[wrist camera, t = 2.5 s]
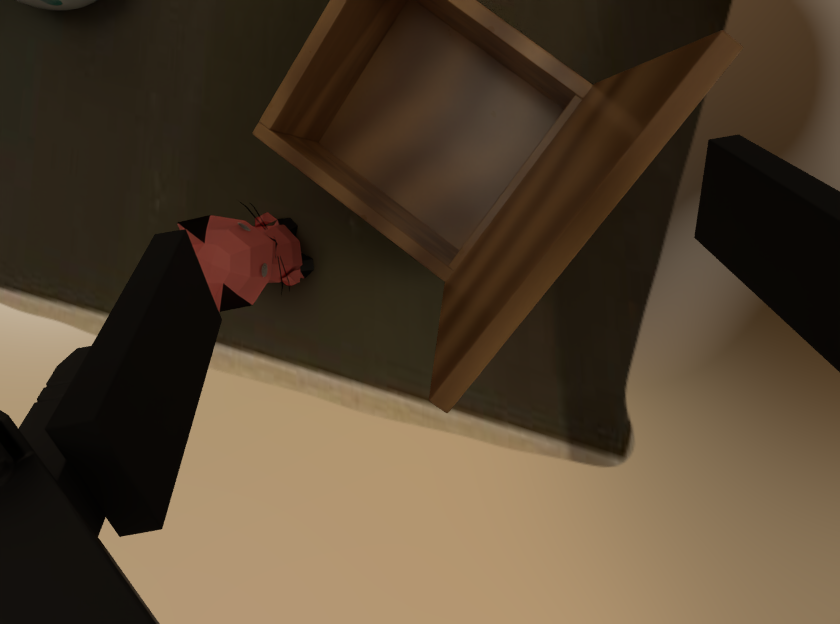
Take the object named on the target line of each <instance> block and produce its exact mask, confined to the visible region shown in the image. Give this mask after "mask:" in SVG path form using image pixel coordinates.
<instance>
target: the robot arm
mask: <svg viewBox="0 0 840 624" xmlns="http://www.w3.org/2000/svg"><path fill="white" fill-rule="evenodd" d="M695 239H697V240H698V241H699V242H700V243H701V244H702V245H703V246H704V247H705V248H706V249H707V250H708V251H709V252H711V253H712V254H713V255H714V256H715V257H716V258H717V259H718V260H719V261H720V262H721V263H722V264H723V265H725V266H726V267H727V268H728V269H729V270H730V271H731V272H732V273H733V274H734V275H735V276H736V277H738V278H739V279H740V280H741V281H742V282H743V283H744V284H745V285H746V286H747V287H748V288H749V289H750V290H752V291H753V292H754V293H755V294H756V295H757V296H758V297H759V298H760V299H761V300H762V301H763V302H764V303H766V304H767V305H768V306H769V307H770V308H771V309H772V310H773V311H774V312H775V313H776V314H777V315H779V316H780V317H781V318H782V319H783V320H784V321H785V322H786V323H787V324H788V325H789V326H790V327H792V328H793V329H794V330H795V331H796V332H797V333H798V334H799V335H800V336H801V337H802V338H803V339H804V340H806V341H807V342H808V343H809V344H810V345H811V346H812V347H813V348H814V349H815V350H816V351H817V352H818V353H820V354H821V355H822V356H823V357H824V358H825V359H826V360H827V361H828V362H829V363H830V364H831V365H833V366H834V367H835V368H836V369H837V370H838V371H839V372H840V192H839V191H838V190H836V189H834V188H832V187H831V186H829V185H827V184H825V183H824V182H822V181H820V180H818V179H816V178H815V177H813V176H811V175H809V174H808V173H806V172H804V171H802V170H801V169H799V168H797V167H795V166H793V165H792V164H790V163H788V162H786V161H785V160H783V159H781V158H779V157H778V156H776V155H774V154H772V153H770V152H769V151H767V150H765V149H763V148H762V147H760V146H758V145H756V144H755V143H753V142H751V141H749V140H747V139H746V138H744V137H742V136H740V135H733V136H728V137H722V138H716V139H710V140H709V141H708V148H707V155H706V162H705V168H704V175H703V182H702V189H701V196H700V203H699V210H698V216H697V224H696V230H695ZM221 321H222V319H221V316H220V314H219V311H218V309H217V306H216V304H215V301H214V299H213V296H212V294H211V291H210V288H209V286H208V283H207V281H206V278H205V276H204V273H203V271H202V268H201V266H200V263H199V261H198V258H197V256H196V253H195V251H194V248H193V246H192V243H191V241H190V238H189V236H188V233H187V231H186V229H184V230H178V231H172V232H166V233H160V234H155V235H154V237H153V239H152V240H151V242H150V244H149V246H148V247H147V249H146V251H145V253H144V254H143V256H142V258H141V260H140V262H139V263H138V265H137V267H136V269H135V270H134V272H133V274H132V276H131V277H130V279H129V281H128V283H127V284H126V286H125V288H124V290H123V292H122V293H121V295H120V297H119V299H118V300H117V302H116V304H115V306H114V307H113V309H112V311H111V313H110V314H109V316H108V318H107V320H106V321H105V323H104V325H103V327H102V329H101V330H100V332H99V334H98V336H97V337H96V339H95V341H94V343H93V344H92V346H88V347H82V348H77V349H76V350H75V351H74V352H73V353H71V354H70V355H69V356H68V357H67V358H66V359H65V360H63V361H62V362H61V363H60V364H59V365H58V366H57V367H56V369H55V371H54V372H53V374H52V376H51V377H50V379H49V380H48V382H47V383H46V385H47V387H46V388H43V390H42V392H41V393H40V395H39V396H38V398H37V402H36V403H34V404H33V406H32V408H31V409H30V411H29V413H28V414H27V416H26V417H25V419H24V421H23V422H22V424H21V426H20V427H19V429H18V428H17V426H16V425H15V424H14V422H13V421H12V420H11V418H10V417H9V415H7V414H6V413H4V412H2V411H1V410H0V624H159V622H158V621H157V620H156V618H155V617H154V615H153V614H152V613H151V611H150V610H149V608H148V607H147V606H146V604H145V603H144V601H143V600H142V599H141V597H140V596H139V594H138V593H137V591H136V590H135V589H134V587H133V586H132V584H131V583H130V582H129V580H128V579H127V577H126V576H125V574H124V573H123V572H122V570H121V569H120V567H119V566H118V565H117V563H116V562H115V560H114V559H113V558H112V556H111V555H110V553H109V552H108V551H107V549H106V548H105V546H104V545H103V544H102V542H101V541H100V539H99V538H98V535H99V532H100V530H101V528H102V525H103V522H104V520H105V517H106V518H107V519H108V521H109V522H110V524H111V525H112V527H113V528H114V529H115V531H116V532H117V534H118V535H119V536H120V537H121V536H126V535H132V534H138V533H143V532H149V531H155V530H160V529H162V527H163V524H164V520H165V517H166V513H167V510H168V506H169V503H170V499H171V496H172V492H173V489H174V485H175V482H176V478H177V475H178V471H179V468H180V464H181V461H182V457H183V454H184V450H185V447H186V444H187V440H188V437H189V433H190V429H191V426H192V422H193V419H194V415H195V412H196V408H197V405H198V402H199V398H200V394H201V391H202V387H203V384H204V381H205V377H206V373H207V370H208V367H209V363H210V360H211V356H212V353H213V349H214V346H215V342H216V339H217V335H218V332H219V328H220V325H221Z"/></svg>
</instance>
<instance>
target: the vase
mask: <svg viewBox="0 0 840 624" xmlns="http://www.w3.org/2000/svg"><path fill="white" fill-rule="evenodd" d="M15 1H17V2H20V3H23V4H26V5H28V6H32V7H36V8H40V9H45V10H54V11H66V10H75V9H79V8H82V7H85V6H88V5H90V4H92V3H94V2H96V1H97V0H15Z"/></svg>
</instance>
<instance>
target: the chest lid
mask: <svg viewBox="0 0 840 624" xmlns="http://www.w3.org/2000/svg"><path fill="white" fill-rule="evenodd" d="M742 49H743V46H742V45H741V44H739V43H738V42H737V41H736V40H735V39H733V38H732V37H731V36H730V35H728V34H727V33H726V32H725V31H723V30H721V31H719V32H716V33H714V34H712V35H709V36H707V37H705V38H702V39H700V40H697V41H695V42H693V43H690V44H688V45H685V46H683V47H681V48H678V49H676V50H674V51H671V52H669V53H666V54H664V55H662V56H659V57H657V58H655V59H652V60H650V61H647V62H645V63H643V64H640V65H638V66H636V67H633V68H631V69H628V70H626V71H624V72H621V73H619V74H616V75H614V76H612V77H609V78H607V79H605V80H602V81H600V82H597V83H595V84H594V85H593V86H592V87H591V89H590V90H589V91H588V93H587V94H586V95H585V97H584V98H583V99H582V101H581V102H580V103H579V105H578V106H577V107H576V109H575V110H574V111H573V113H572V114H571V115H570V117H569V118H568V119H567V121H566V122H565V123H564V125H563V126H562V127H561V129H560V130H559V131H558V133H557V134H556V135H555V137H554V138H553V139H552V141H551V142H550V143H549V145H548V146H547V147H546V149H545V150H544V151H543V153H542V154H541V155H540V157H539V158H538V159H537V161H536V162H535V163H534V165H533V166H532V167H531V169H530V170H529V171H528V173H527V174H526V175H525V177H524V178H523V179H522V181H521V182H520V184H519V185H518V186H517V188H516V189H515V190H514V192H513V193H512V194H511V196H510V197H509V198H508V200H507V201H506V202H505V204H504V205H503V206H502V208H501V209H500V210H499V212H498V213H497V214H496V216H495V217H494V218H493V220H492V221H491V222H490V224H489V225H488V226H487V228H486V229H485V230H484V232H483V233H482V234H481V236H480V237H479V238H478V240H477V241H476V242H475V244H474V245H473V246H472V248H471V249H470V250H469V252H468V253H467V254H466V256H465V257H464V258H463V260H462V261H461V262H460V264H459V265H458V266H457V268H456V269H455V270H454V272H453V273H452V274H451V276H450V277H449V278H448V280H447V281H446V282H445V285H444V292H443V299H442V307H441V314H440V321H439V329H438V336H437V344H436V351H435V358H434V366H433V373H432V381H431V388H430V395H429V401H430V402H431V403H432V404H434V405H435V406H437V407H438V408H440V409H441V410H443V411H444V412H446V413H448V412H449V411H450V410H451V409H452V407H453V406H454V405H455V404H456V402H457V401H458V400H459V399H460V398H461V396H462V395H463V394H464V393H465V391H466V390H467V389H468V388H469V386H470V385H471V384H472V383H473V381H474V380H475V379H476V378H477V377H478V375H479V374H480V373H481V372H482V370H483V369H484V368H485V367H486V365H487V364H488V363H489V362H490V360H491V359H492V358H493V357H494V356H495V354H496V353H497V352H498V351H499V349H500V348H501V347H502V346H503V344H504V343H505V342H506V341H507V340H508V338H509V337H510V336H511V335H512V333H513V332H514V331H515V330H516V328H517V327H518V326H519V325H520V323H521V322H522V321H523V320H524V319H525V317H526V316H527V315H528V314H529V312H530V311H531V310H532V309H533V307H534V306H535V305H536V304H537V302H538V301H539V300H540V299H541V298H542V296H543V295H544V294H545V293H546V291H547V290H548V289H549V288H550V286H551V285H552V284H553V283H554V281H555V280H556V279H557V278H558V277H559V275H560V274H561V273H562V272H563V270H564V269H565V268H566V267H567V265H568V264H569V263H570V262H571V260H572V259H573V258H574V257H575V256H576V254H577V253H578V252H579V251H580V249H581V248H582V247H583V246H584V244H585V243H586V242H587V241H588V239H589V238H590V237H591V236H592V235H593V233H594V232H595V231H596V230H597V228H598V227H599V226H600V225H601V223H602V222H603V221H604V220H605V218H606V217H607V216H608V215H609V214H610V212H611V211H612V210H613V209H614V207H615V206H616V205H617V204H618V202H619V201H620V200H621V199H622V197H623V196H624V195H625V194H626V193H627V191H628V190H629V189H630V188H631V186H632V185H633V184H634V183H635V181H636V180H637V179H638V178H639V176H640V175H641V174H642V173H643V172H644V170H645V169H646V168H647V167H648V165H649V164H650V163H651V162H652V160H653V159H654V158H655V157H656V155H657V154H658V153H659V152H660V151H661V149H662V148H663V147H664V146H665V144H666V143H667V142H668V141H669V139H670V138H671V137H672V136H673V134H674V133H675V132H676V131H677V130H678V128H679V127H680V126H681V125H682V123H683V122H684V121H685V120H686V118H687V117H688V116H689V115H690V114H691V112H692V111H693V110H694V109H695V107H696V106H697V105H698V104H699V102H700V101H701V100H702V99H703V97H704V96H705V95H706V94H707V93H708V91H709V90H710V89H711V88H712V86H713V85H714V84H715V82H716V81H717V80H718V79H719V78H720V76H721V75H722V74H723V73H724V71H725V70H726V69H727V68H728V66H729V65H730V64H731V63H732V62H733V60H734V59H735V58H736V57H737V55H738V54H739V53H740V52H741V50H742Z"/></svg>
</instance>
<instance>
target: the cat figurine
mask: <svg viewBox="0 0 840 624" xmlns="http://www.w3.org/2000/svg"><path fill="white" fill-rule="evenodd" d="M240 203H241V202H240ZM241 204H242V203H241ZM243 205H244V204H243ZM251 205H252V204H251ZM244 206H245V205H244ZM252 206H253V205H252ZM245 207H246V208H247V209H248V207H247V206H245ZM253 207H254V206H253ZM254 209H255V207H254ZM248 210H249V209H248ZM255 210H256V209H255ZM249 211H250V210H249ZM250 212H251V211H250ZM256 212H257V210H256ZM251 214H252V215H253V213H252V212H251ZM257 214H258V212H257ZM258 215H259V214H258ZM253 216H254V215H253ZM254 217H255V216H254ZM275 220H277V219H276V218H274V217H273V216H272V215H270V214H269V213H268V212H267V213H264V214H263V215H261V216H260V215H259V217H257V218H256V217H255V226H252V225H250V224H249V223H248V222H246V221H244V220H238V219H231V218H225V217H218V216H212V215H209V216H205V217H200V218H196V219H191V220H187V221H182V222H178V226H179V229H180V230H184V229H186V231H187V233H188V236H189V238H190V241H191V243H192V246H193V248H194V251H195V253H196V256H197V258H198V261H199V263H200V266H201V268H202V271H203V273H204V276H205V278H206V281H207V283H208V286H209V288H210V291H211V294H212V296H213V299H214V301H215V304H216V306H217V309H218V310H219V312H220V311H225V310H230V309H235V308H240V307H245V306H250V305H253V304H254V302H255V301H256V299H257V298H258V296H259V295H260V293H261V292H262V290H263V289H264V287H265V286H266V284H267V283H279V282H282V288H283V283H284V284H285V285H287V286H292V285H294V284H296V283H299V282H300V278H306V277H307V276H308V275H309V274H310V273H311V272H312V271H313V270H314V266H313V259H312V258H310V257H308V256H306V255H305V254H303V253H301V247H300V241H299V240H298V239H297V238H296V237H295V236H296V230H297V225H296V224H295V223H294V221H293V220H292V219H291V218H285V219H278V220H277V221H276V223H275V224H274V226H266V225H267V224H269V223H271V222H273V221H275ZM289 292H290V289H289ZM281 295H282V292H281Z"/></svg>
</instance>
